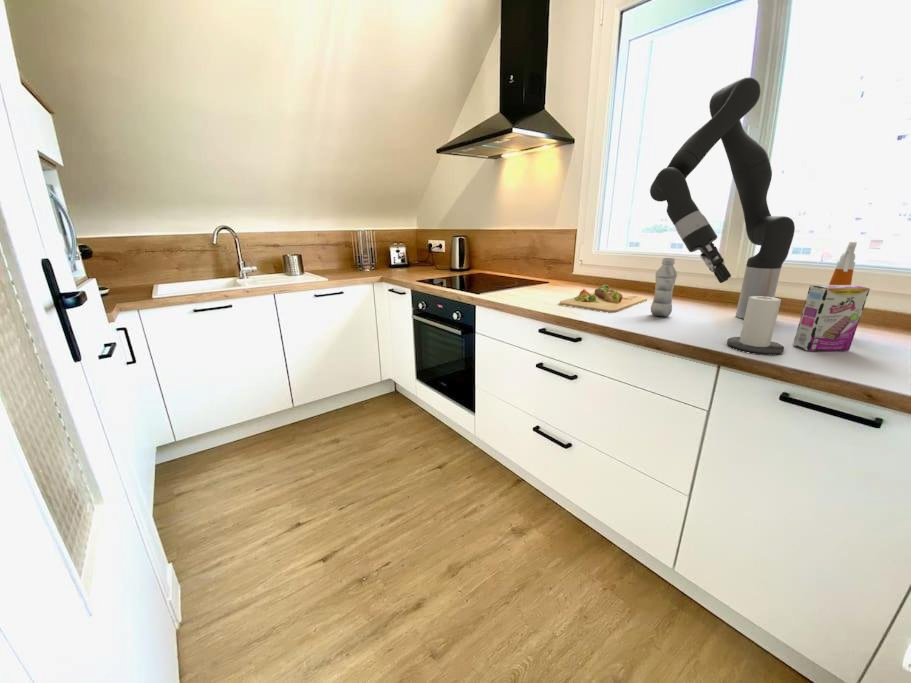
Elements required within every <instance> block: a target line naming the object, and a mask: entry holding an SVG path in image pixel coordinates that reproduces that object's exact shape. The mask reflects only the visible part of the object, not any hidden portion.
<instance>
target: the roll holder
mask: <svg viewBox="0 0 911 683" xmlns="http://www.w3.org/2000/svg"><path fill="white" fill-rule="evenodd" d="M739 340H740V336H732V337H728V338H727V339H726V343H727V345H728V346H727V345H726V346H727V347H729V348H730V347H731V349H733V348H734V349H733V350H735V349H737V350H736V351H739V350H740V351H739V352H742V351H744V352H743V353H747V352H749V353H748V354H752V353H755V354H754V355H760V354H763V355H762V356H779V354H780V355H782V354H784V350H785V346H784V345H783V344H781V343H778V342H775V341H772V340H771V343H770V346H767V347H755V346H750V345H746V344H743V343H741V342H740V341H739Z"/></svg>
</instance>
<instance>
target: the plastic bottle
mask: <svg viewBox="0 0 911 683" xmlns="http://www.w3.org/2000/svg"><path fill="white" fill-rule="evenodd" d="M675 260H676V258H674V257H673V258H672V257H663V258H662V261H661V266H660V267H659V268H658V269H657V270H656V272H655V274H654V275H655V290H654V297H653V300H652V303H651V306H650V313H651V314H652V315H654V316H656V317H669V316H670V315H671V314H672V311H673V291H674V288H675V287H674V286H675V284H676V281H677V280H676V279H677V277H678V272H677V269H676V268H675V266H674V265H675V264H676V263H675Z"/></svg>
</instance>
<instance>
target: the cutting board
mask: <svg viewBox="0 0 911 683" xmlns="http://www.w3.org/2000/svg"><path fill="white" fill-rule="evenodd" d="M644 301H645V302H647V301H648V298H647V297H646V296H642V295H635V294H624V293H620V292H619V291H617V290H614V289H612V288H610V284H609V285H608V284H603V285H601V286H600V287H598V288H596V289H594V291H593V292H589V291H587V290H586V289H585V288H584V289H581V290H580V292H579V294H578V295H577V296H575V297H572V298H567V299H564V300H560V301H559V306H562V305H566V306H565V307H568V306H572V307H571V308H575V307H577V308H576V309H581V308H584V309H583V310H587V309H590V310H589V311H594V310H596V311H595V312H600V311H602V312H601V313H606V312H608V313H607V314H614V313H618V312H621V311H624V310H626V309H629V308H631V307H634V305H635V306H637V305H640V304H642V302H643V303H645V302H644ZM639 303H640V304H639Z"/></svg>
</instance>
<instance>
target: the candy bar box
mask: <svg viewBox="0 0 911 683" xmlns="http://www.w3.org/2000/svg"><path fill="white" fill-rule="evenodd" d="M870 290H871V288H869V287H865V286H859V285H853V284H851V285H829V284H814V285H813V284H811V285H809V289H808V292H807V295H806V298H805V302H804V305H803V308H802V309H803V310H802V312H801V316H800V318H799V319H800V320H799V323H798V327H797V329H796V333H795V337H794V339H793V340H794V341H793V344H792V346H793V347H795V348H798V349H800V350H803V351H806V352H838V351H839V352H840V351H841V352H843V351H847V352H849V351H850V349H851V346H852V343H853V340H854V338H855V334H856V331H857V328H858V326H859V323H860V319H861V316H862V313H863V311H864V308H865V304H866V303H867V299H868V296H869V293H870Z"/></svg>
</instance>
